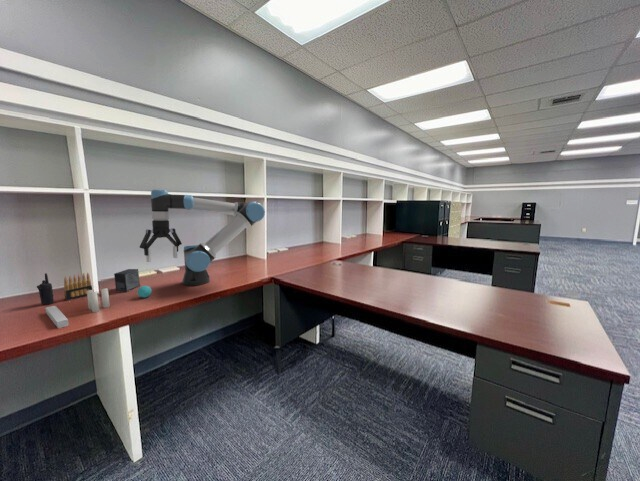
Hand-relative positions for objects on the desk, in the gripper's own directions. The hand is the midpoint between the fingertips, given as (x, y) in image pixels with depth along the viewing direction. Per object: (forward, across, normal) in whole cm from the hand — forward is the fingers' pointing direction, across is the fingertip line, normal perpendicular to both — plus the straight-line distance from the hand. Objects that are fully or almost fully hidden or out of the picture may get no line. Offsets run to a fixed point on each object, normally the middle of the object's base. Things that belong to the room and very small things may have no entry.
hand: (162, 259), depth 139 cm
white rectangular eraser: (+19, +41, -4) cm, 46 cm away
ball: (+15, +9, -1) cm, 18 cm away
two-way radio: (+20, +38, -31) cm, 53 cm away
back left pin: (+19, +30, 0) cm, 35 cm away
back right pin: (+19, +29, -5) cm, 35 cm away
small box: (+19, +7, -24) cm, 31 cm away
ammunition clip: (+19, +27, -30) cm, 44 cm away
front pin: (+19, +25, -2) cm, 31 cm away
